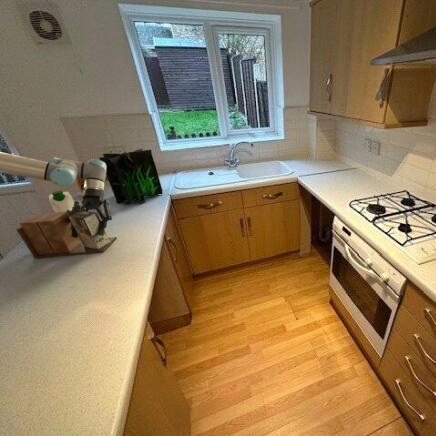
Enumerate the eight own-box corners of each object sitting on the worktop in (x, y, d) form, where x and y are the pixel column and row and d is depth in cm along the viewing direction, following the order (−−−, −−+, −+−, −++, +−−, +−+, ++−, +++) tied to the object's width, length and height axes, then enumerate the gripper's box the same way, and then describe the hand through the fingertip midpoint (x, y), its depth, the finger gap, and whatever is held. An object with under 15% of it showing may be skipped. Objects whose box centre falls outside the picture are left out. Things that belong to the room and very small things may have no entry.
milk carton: (63, 230, 127) (45, 195, 118) (63, 224, 133) (46, 190, 124) (84, 225, 132) (68, 191, 123) (83, 219, 138) (68, 186, 129)
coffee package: (81, 199, 165) (66, 168, 155) (83, 193, 175) (70, 164, 164) (98, 196, 170) (85, 165, 159) (100, 191, 179) (88, 162, 169)
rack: (34, 258, 105) (13, 225, 97) (54, 243, 116) (36, 212, 108) (103, 252, 109) (88, 219, 101) (116, 238, 119) (103, 207, 111)
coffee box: (111, 241, 115) (98, 212, 107) (98, 249, 109) (84, 218, 102) (95, 239, 117) (82, 210, 109) (82, 246, 111) (67, 216, 104)
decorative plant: (105, 202, 160) (87, 157, 146) (143, 187, 185) (130, 147, 171) (138, 207, 152) (122, 160, 138) (172, 191, 177) (162, 149, 163)
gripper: (124, 192, 119) (119, 235, 112) (73, 195, 116) (66, 240, 109) (114, 185, 112) (109, 231, 105) (60, 189, 109) (52, 236, 102)
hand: (87, 236), depth 107 cm, fingers closed on coffee box, 10 cm apart
